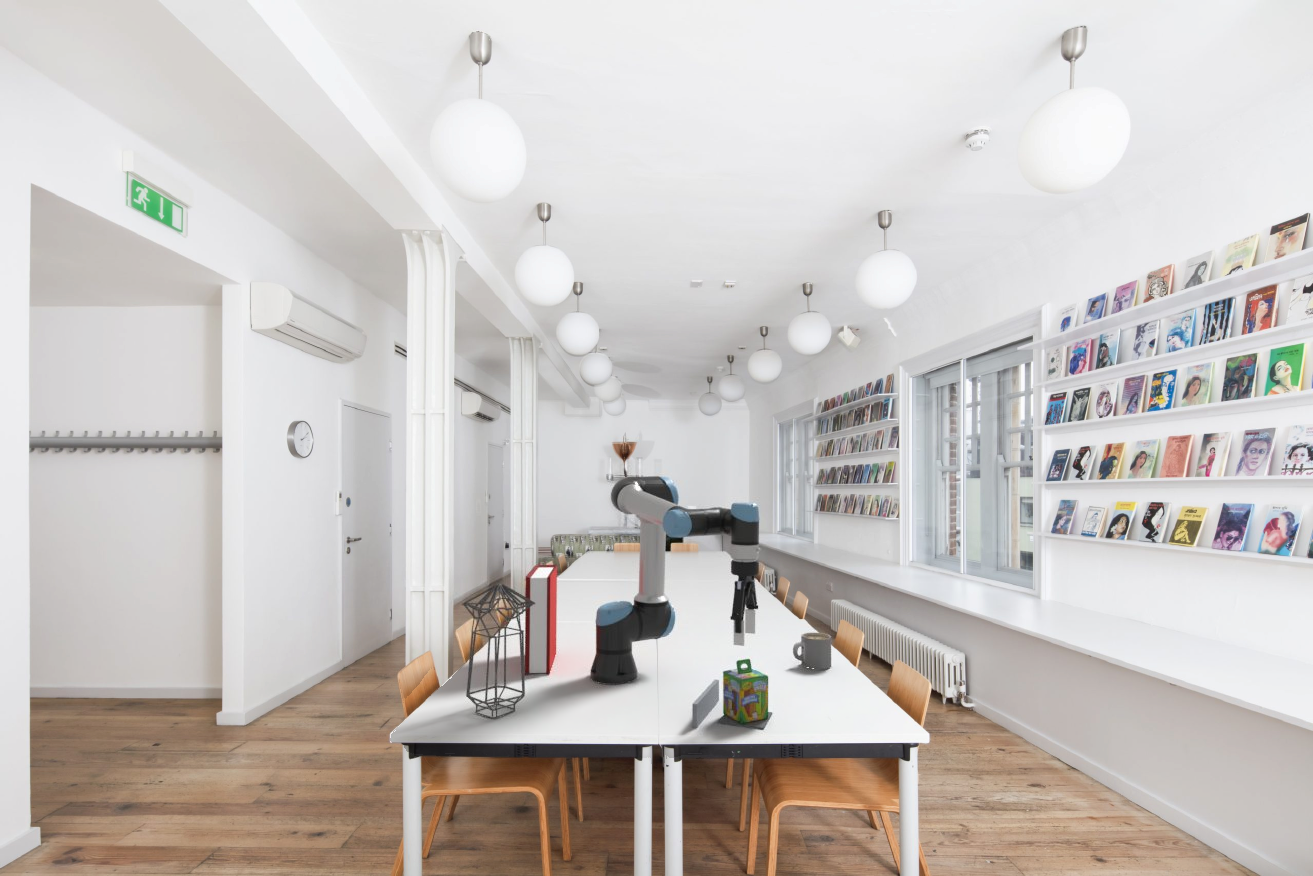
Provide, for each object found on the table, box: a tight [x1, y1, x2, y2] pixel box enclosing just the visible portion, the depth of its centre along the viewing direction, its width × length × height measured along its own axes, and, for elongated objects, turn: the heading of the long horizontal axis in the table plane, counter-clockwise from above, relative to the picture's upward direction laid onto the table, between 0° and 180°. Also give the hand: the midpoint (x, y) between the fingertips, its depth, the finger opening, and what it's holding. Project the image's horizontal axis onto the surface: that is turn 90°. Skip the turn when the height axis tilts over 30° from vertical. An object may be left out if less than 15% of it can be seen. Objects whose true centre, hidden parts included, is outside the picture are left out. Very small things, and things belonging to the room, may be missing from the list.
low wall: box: [691, 679, 720, 729], centre depth 185 cm, size 1×22×6 cm, turn 160°
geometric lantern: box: [461, 583, 535, 720], centre depth 188 cm, size 16×16×35 cm
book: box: [524, 564, 558, 676], centre depth 234 cm, size 27×8×32 cm, turn 4°
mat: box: [717, 711, 773, 730], centre depth 181 cm, size 12×12×1 cm
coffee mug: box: [792, 632, 832, 670], centre depth 231 cm, size 13×10×10 cm
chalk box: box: [722, 658, 769, 724], centre depth 182 cm, size 9×9×15 cm
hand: (744, 639), depth 182 cm, fingers open, 13 cm apart
